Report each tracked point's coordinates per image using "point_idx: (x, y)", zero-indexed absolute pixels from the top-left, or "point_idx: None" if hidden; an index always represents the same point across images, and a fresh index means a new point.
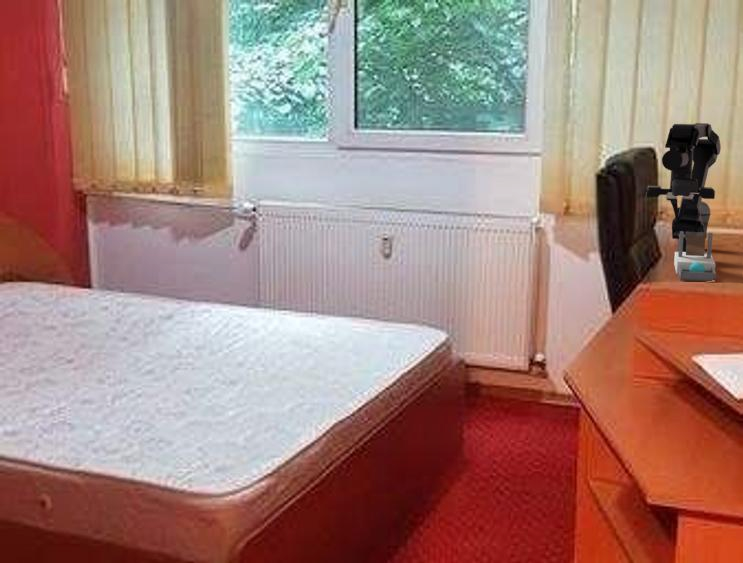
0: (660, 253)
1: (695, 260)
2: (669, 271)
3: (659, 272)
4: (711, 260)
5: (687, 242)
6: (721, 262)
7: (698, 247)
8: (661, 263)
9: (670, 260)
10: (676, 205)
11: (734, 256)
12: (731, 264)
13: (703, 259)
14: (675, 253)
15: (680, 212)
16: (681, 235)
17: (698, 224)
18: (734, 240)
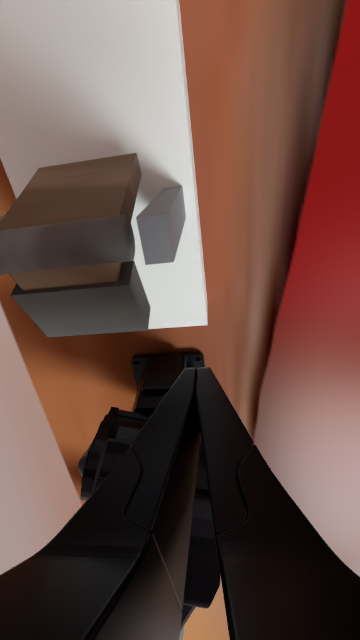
0: (251, 434)
1: (76, 89)
2: (220, 78)
3: (275, 6)
4: (4, 136)
5: (120, 192)
6: (66, 363)
7: (58, 185)
8: (254, 282)
9: (221, 347)
10: (233, 527)
11: (61, 443)
12: (30, 343)
13: (49, 153)
14: (202, 281)
15: (170, 431)
16: (158, 208)
17: (96, 467)
18: None
